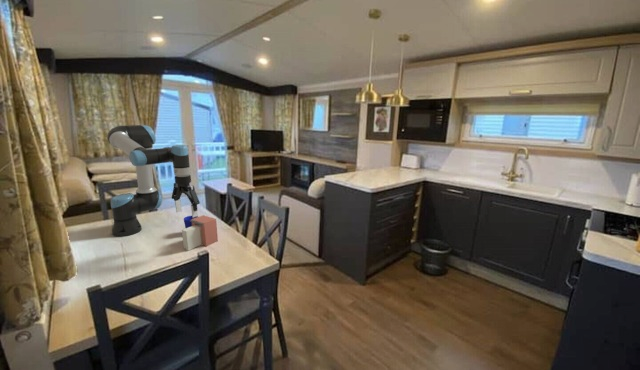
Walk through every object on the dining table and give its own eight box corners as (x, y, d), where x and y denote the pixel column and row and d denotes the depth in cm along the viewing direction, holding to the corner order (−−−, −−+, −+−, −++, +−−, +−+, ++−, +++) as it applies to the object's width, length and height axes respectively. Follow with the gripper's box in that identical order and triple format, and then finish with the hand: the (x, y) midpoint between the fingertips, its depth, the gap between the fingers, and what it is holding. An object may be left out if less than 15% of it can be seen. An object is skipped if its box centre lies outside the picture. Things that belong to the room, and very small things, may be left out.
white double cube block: (183, 248, 152) (181, 229, 150) (207, 238, 165) (205, 221, 162) (188, 250, 150) (186, 231, 148) (211, 240, 163) (210, 222, 160)
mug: (200, 236, 167) (198, 221, 165) (182, 234, 170) (180, 219, 167) (207, 231, 175) (206, 216, 173) (190, 229, 178) (189, 214, 175)
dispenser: (192, 242, 161) (190, 219, 157) (205, 236, 168) (203, 215, 164) (205, 246, 155) (203, 223, 152) (217, 241, 162) (216, 218, 159)
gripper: (161, 173, 146) (166, 211, 151) (191, 179, 134) (195, 220, 139) (174, 171, 153) (179, 208, 158) (204, 176, 140) (208, 216, 145)
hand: (186, 214), depth 148 cm, fingers open, 13 cm apart
